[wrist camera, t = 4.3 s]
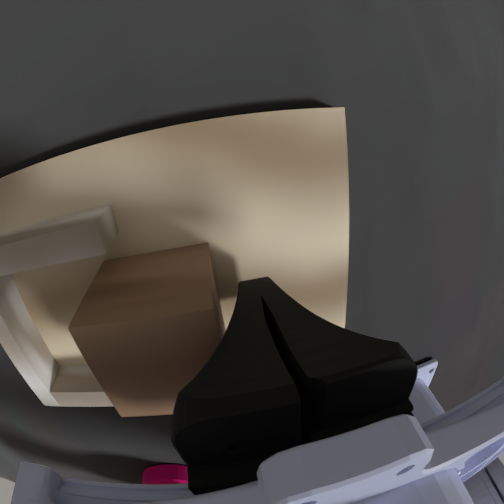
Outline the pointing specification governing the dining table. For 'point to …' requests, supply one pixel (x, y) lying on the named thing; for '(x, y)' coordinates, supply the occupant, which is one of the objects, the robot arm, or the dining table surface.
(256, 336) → the robot arm
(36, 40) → the dining table surface
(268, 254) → the board
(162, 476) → the pepper mill
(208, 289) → the block
